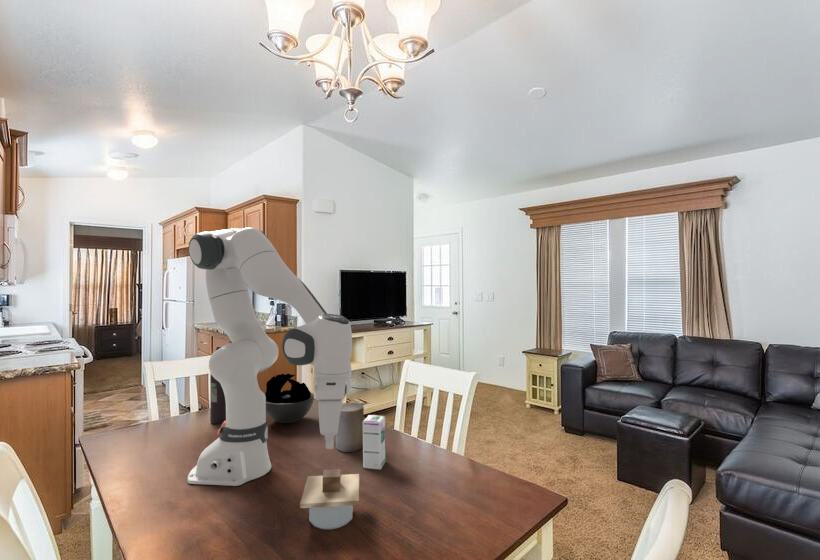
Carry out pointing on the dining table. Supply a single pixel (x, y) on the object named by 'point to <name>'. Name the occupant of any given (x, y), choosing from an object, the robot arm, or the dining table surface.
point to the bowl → (330, 516)
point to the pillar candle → (350, 427)
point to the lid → (331, 490)
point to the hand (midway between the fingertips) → (331, 439)
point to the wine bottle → (217, 401)
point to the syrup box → (374, 442)
